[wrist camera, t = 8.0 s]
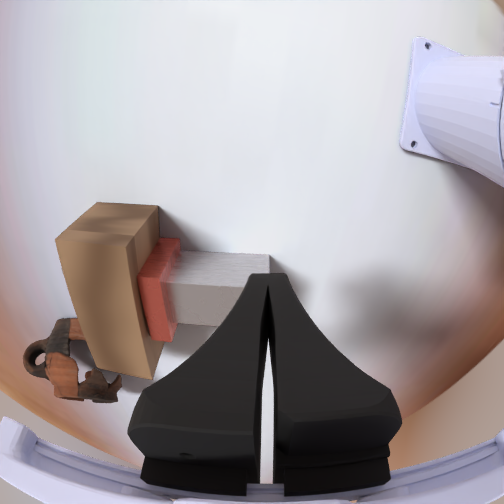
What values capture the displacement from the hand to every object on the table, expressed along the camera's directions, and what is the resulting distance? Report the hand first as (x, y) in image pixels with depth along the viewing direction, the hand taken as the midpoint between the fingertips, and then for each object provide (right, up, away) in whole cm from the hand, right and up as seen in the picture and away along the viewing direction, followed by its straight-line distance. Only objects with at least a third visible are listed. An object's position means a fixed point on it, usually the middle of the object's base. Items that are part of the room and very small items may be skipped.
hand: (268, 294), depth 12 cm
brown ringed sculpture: (-20, -9, +18) cm, 28 cm away
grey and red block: (-7, 0, +12) cm, 14 cm away
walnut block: (-10, 0, +12) cm, 16 cm away
